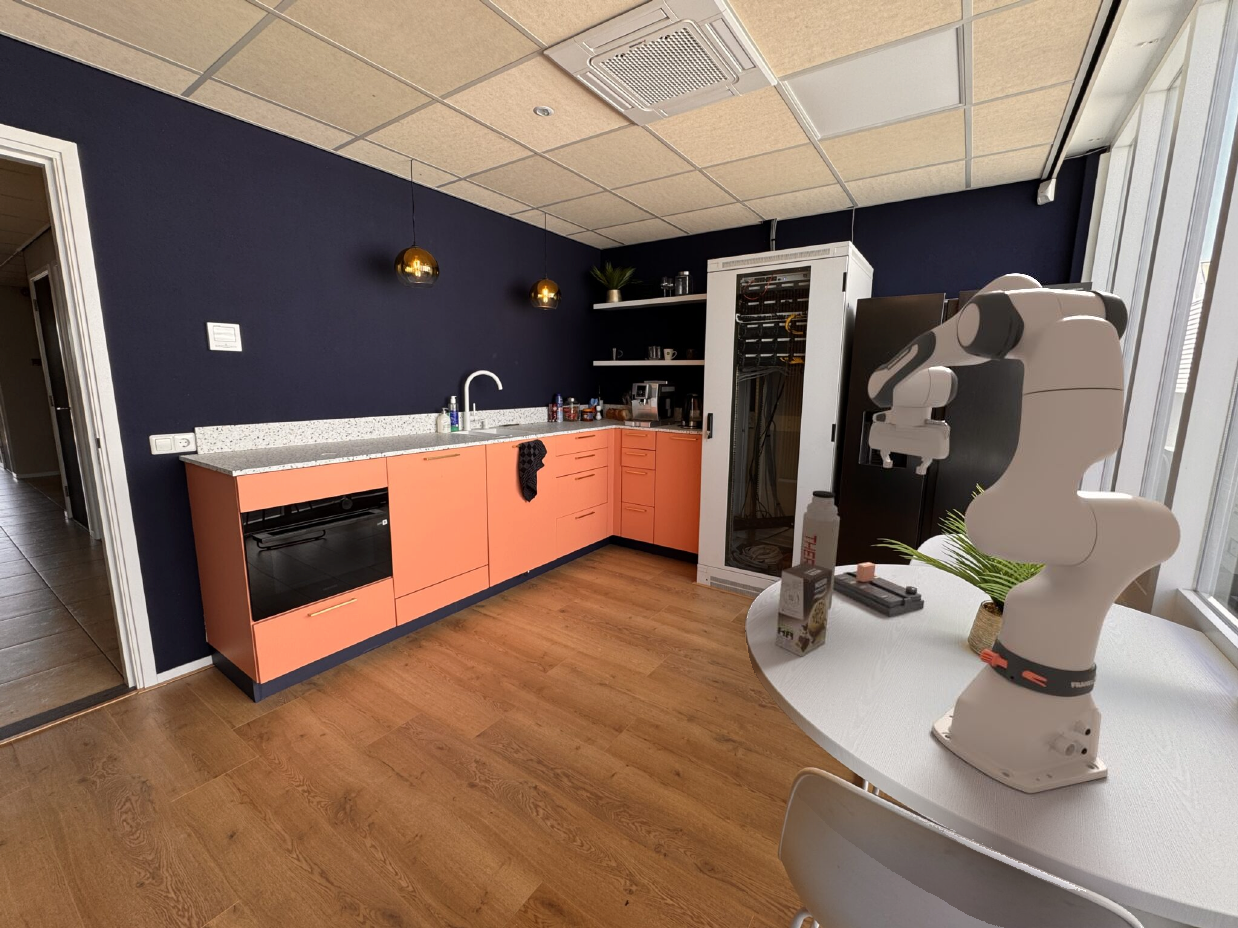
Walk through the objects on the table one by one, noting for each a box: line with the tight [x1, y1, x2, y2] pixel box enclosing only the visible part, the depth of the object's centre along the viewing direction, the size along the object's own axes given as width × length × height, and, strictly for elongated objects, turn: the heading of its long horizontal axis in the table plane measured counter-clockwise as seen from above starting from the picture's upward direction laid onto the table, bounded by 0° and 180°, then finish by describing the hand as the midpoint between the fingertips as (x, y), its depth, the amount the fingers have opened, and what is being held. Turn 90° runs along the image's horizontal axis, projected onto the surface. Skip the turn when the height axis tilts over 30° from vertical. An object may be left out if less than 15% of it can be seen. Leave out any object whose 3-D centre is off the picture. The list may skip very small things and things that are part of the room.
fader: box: [856, 561, 876, 584], centre depth 130 cm, size 4×2×6 cm, turn 115°
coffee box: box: [775, 562, 832, 657], centre depth 104 cm, size 9×6×16 cm
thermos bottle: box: [799, 490, 841, 611], centre depth 122 cm, size 8×8×28 cm
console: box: [833, 570, 925, 618], centre depth 128 cm, size 12×18×4 cm, turn 25°
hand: (903, 470), depth 133 cm, fingers open, 8 cm apart
